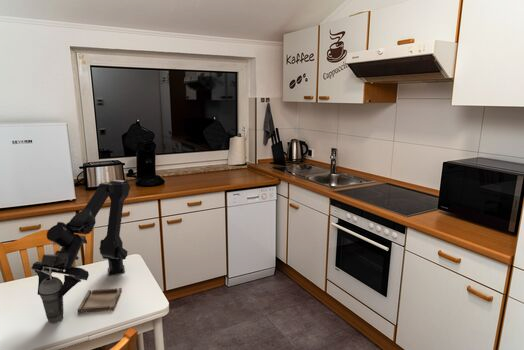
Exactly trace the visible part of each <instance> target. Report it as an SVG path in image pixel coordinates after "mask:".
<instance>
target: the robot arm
mask: <svg viewBox="0 0 524 350" xmlns="http://www.w3.org/2000/svg"><path fill="white" fill-rule="evenodd" d="M130 189H131V184H129V182H128V181H127V180H120V179H112V180H111V181H107V182H106V181H105V182H101V183H99V184H98V186H97V189H96V190H95V192H94V193H93V195H92V196H91V198H90V199H89V201H88V202H87V204H86V205H85V207H84V208H83V209H82V210H80V211H79V212H77V213H76V214H75V215H74V216H73V217H72V218H71V219H70V220H69V221H68V222H67V223H64V222H62V221H58V222H57V223H56V224H55V225H53V226H52V227H50V228H49V229H48V230H47V231H46V232H47V233H46V239H47V240H48V241H50V242H51V243H53V244H55V245H57V246H59V247H61V248H60V250H58V249H57V250H56V251H55V253H54V254H53V253H51V254H49V253H47V254H42V257H41V261H35V262H34V263H33V264H32V265H31V268H30V269H31V270H33V271H34V273H36V275H37V277H38V282H37V283H38V286H37V292H36V293H37V295H38V296H40V294H39V286H40V284H41V283H42V281H43V280H45V279H46V278H48V277H50V272H49V267H51V274H53V273H55V274H61V275H63V277H64V280H63V282H62V283H63V285H62V288H61V290H60V292H59V295H58V298H59V299H61V298H62V297H63V298H64V296H65V295H66V294H67V293H68V292H69V291H70V290H71V289H72V288H74V287H75V286H76V285H77V284H78V283H81V282H82V280H83V281H88V278H89V276H90V274H89V271H88V270H86V269H84V268H82V267H76V266H73V265H74V264H75V261H78V260H79V259H80V257H79V256H78V254H79V251H80V250H81V248H82V245H83V244H87V243H88V241H87V239H86V236H85V235H90V233H91V232H92V231H93V229H94V227H95V226H96V223H97V222H96V217H97V215H98V213H99V212H100V210H101V209H102V208H103V205H104V204H105V202H106V201H107V200H108V199H109V200H110V203H109V204H110V206H109V212H108V213H109V215H108V222H107V230H106V231H107V232H106V236H105V237H104V238H103V239H101V240H100V242H99V249H98V250H99V254H100V255H101V258H102V259H104V260H105V259H106V260H107V262H108V263H107V264H108V268H107V274H108V276H112V275H118V274H124V273H126V269H125V264H124V260H126V259H127V257H128V250H126V249H125V248H123V247H124V246H123V244H124V243H123V241H122V238H121V236H120V235H121V234H120V233H121V226H122V218H123V209H124V203H125V200H127V198H128V197H129V193H130ZM108 197H109V198H108ZM79 234H80V235H79ZM52 277H54V276H53V275H52Z"/></svg>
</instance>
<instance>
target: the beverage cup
mask: <svg viewBox="0 0 524 350" xmlns="http://www.w3.org/2000/svg"><path fill="white" fill-rule="evenodd" d="M49 272H50V277H48V278H46V279H45V280H43V281H42V283H41V284H40V286H39V294H40V295H39V297H40V298H41V301H42V305H43V309H44V312H45V316H46V319H47V321H48V323H49V324H50V325H51V324H52V325H54V324H57V323H59V322H61V321H63V319H64V314H65V313H64V296H63V297H62V298H61V299H59V298H58V295H59V292H60V290H61V288H62V285H63V283H64V282H62V280H61V279H60V278H59V277H56V276H53V275H52V273H51V267H49ZM52 276H53V277H52Z"/></svg>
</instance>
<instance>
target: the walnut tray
mask: <svg viewBox="0 0 524 350" xmlns="http://www.w3.org/2000/svg"><path fill="white" fill-rule="evenodd" d="M122 292H123V290H122V287H120V288H119V287H118V288H117V287H116V288H104V289H103V288H101V289H88V290H87V292H86V294H85V296H84V297H83V299H82V301H81V303H80V304H79V306H78V308H77V314H88V313H99V312H100V313H101V312H103V313H104V312H114V311H115V309H116V307H117V304H118V302H119V300H120V298H121V296H122V295H121V294H122Z"/></svg>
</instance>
